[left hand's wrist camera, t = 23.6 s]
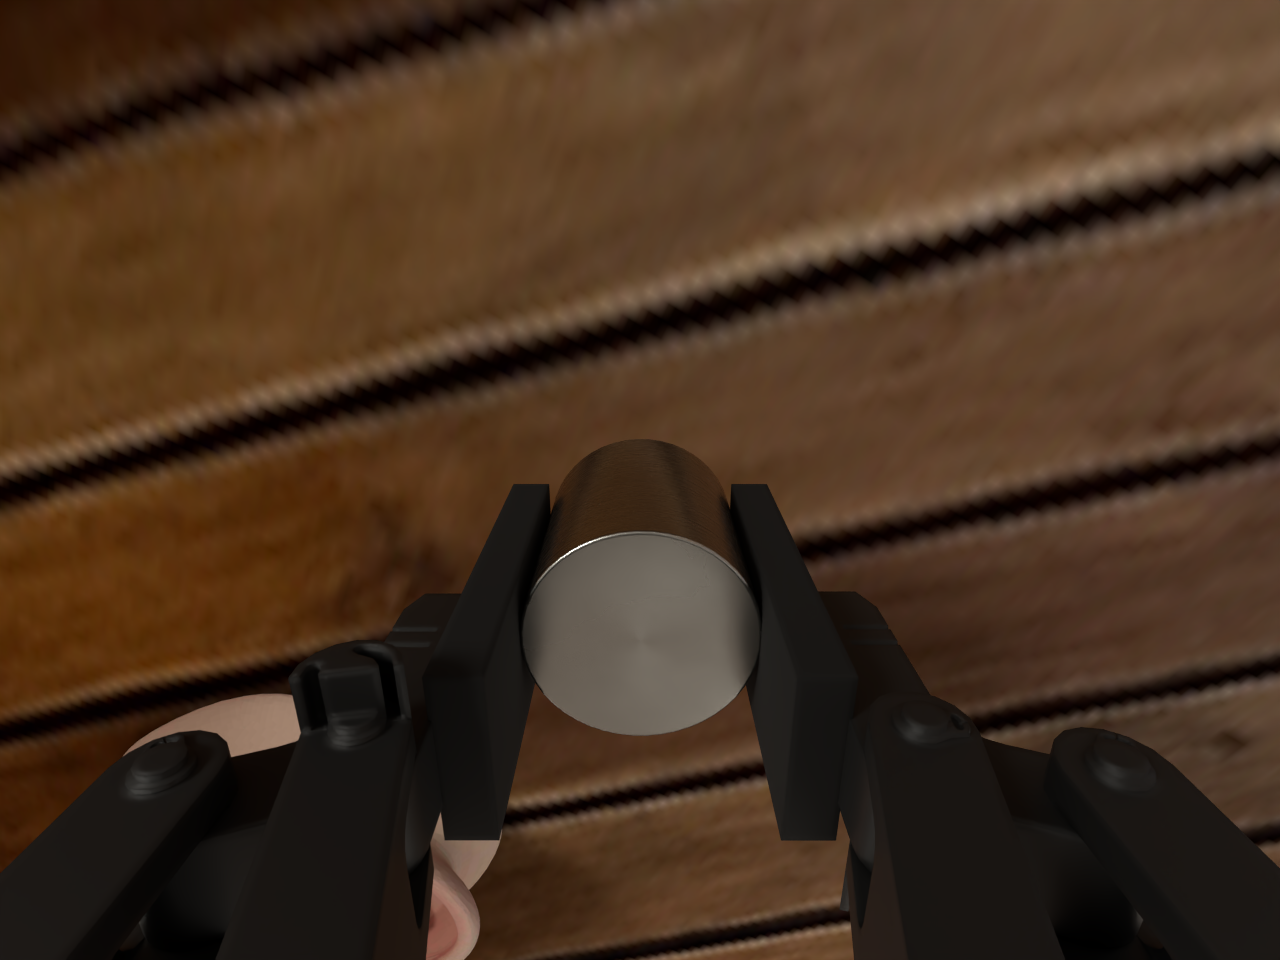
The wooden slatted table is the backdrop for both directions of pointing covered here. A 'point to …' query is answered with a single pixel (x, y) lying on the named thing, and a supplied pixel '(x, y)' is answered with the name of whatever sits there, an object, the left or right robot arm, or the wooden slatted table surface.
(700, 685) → the tin
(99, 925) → the left robot arm
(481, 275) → the wooden slatted table surface
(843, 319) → the wooden slatted table surface
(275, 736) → the anatomical model
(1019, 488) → the wooden slatted table surface
